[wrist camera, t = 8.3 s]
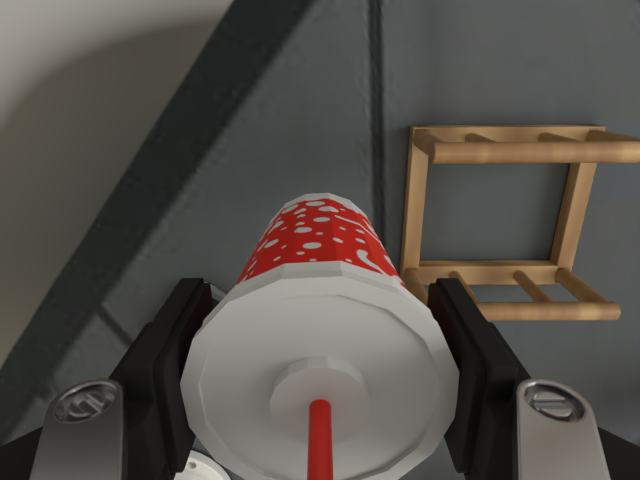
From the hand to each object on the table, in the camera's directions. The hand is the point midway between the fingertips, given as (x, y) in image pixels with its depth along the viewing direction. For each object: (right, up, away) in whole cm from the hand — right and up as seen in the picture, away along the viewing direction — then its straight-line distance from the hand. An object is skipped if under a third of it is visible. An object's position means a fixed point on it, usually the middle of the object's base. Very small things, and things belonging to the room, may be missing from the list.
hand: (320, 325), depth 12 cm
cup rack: (+13, +5, +20) cm, 24 cm away
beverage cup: (0, +2, +6) cm, 6 cm away
